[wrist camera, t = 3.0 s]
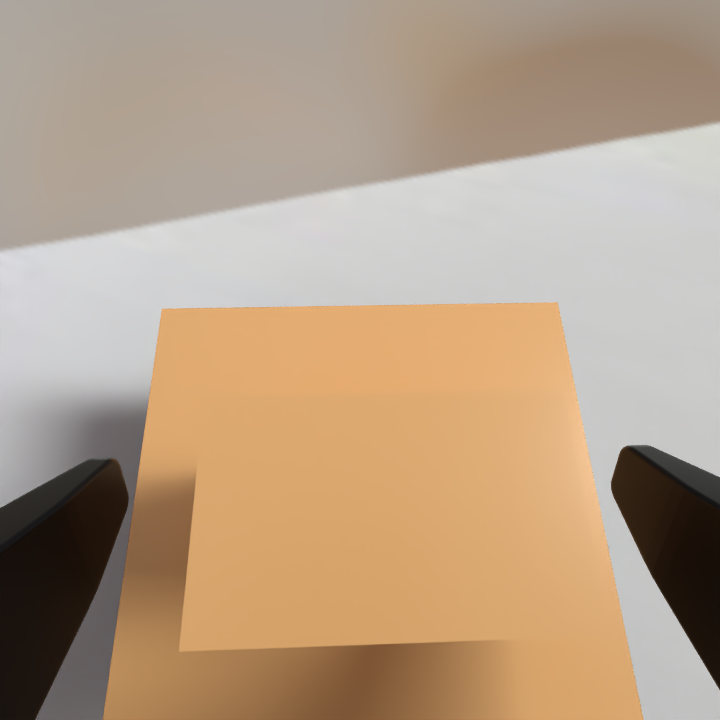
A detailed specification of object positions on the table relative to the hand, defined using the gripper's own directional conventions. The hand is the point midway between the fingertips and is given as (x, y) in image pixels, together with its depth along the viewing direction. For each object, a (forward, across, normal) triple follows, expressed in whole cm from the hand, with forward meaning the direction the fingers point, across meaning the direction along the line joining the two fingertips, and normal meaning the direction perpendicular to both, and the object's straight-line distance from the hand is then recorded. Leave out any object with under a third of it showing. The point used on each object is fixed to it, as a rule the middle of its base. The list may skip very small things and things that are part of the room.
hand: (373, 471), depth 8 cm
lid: (+3, 0, +4) cm, 5 cm away
